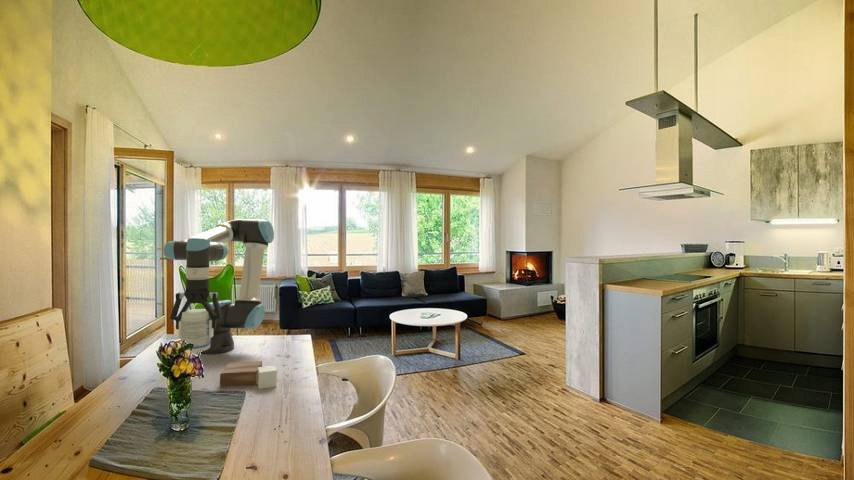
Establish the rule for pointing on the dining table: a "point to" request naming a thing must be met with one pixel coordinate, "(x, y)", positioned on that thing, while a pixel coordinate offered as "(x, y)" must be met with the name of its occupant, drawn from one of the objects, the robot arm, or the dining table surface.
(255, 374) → the walnut block
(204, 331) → the supplement tub
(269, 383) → the cream cube
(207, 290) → the robot arm
